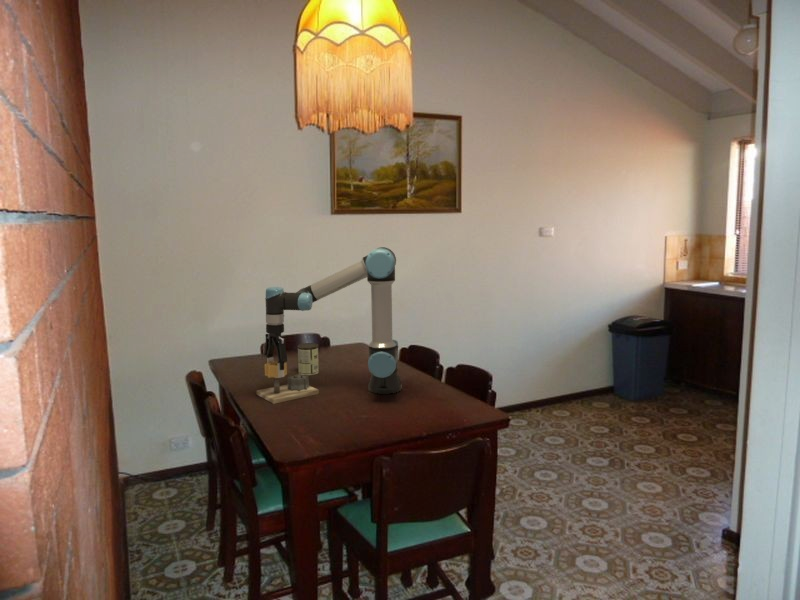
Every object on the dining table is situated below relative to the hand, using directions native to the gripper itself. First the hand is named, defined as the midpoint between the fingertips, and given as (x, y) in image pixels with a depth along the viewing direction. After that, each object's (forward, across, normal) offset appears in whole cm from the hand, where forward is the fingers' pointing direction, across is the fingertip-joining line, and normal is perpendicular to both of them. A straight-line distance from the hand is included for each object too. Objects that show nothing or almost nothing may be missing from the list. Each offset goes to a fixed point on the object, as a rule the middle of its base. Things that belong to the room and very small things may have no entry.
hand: (275, 374), depth 251 cm
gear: (0, 0, 0) cm, 0 cm away
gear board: (+10, 0, -6) cm, 11 cm away
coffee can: (+10, +25, -30) cm, 41 cm away
